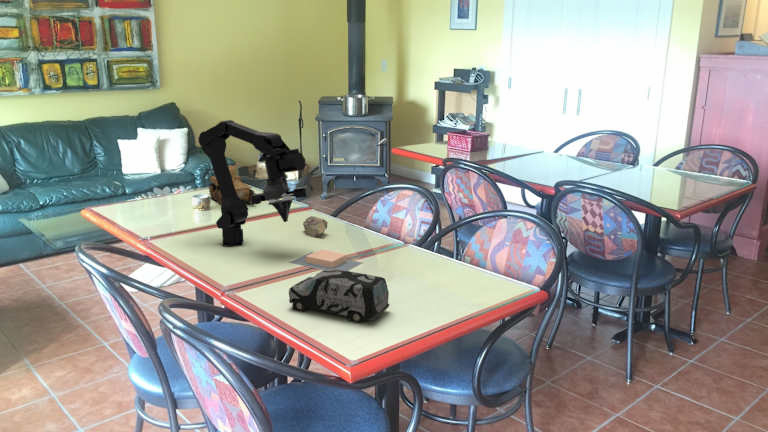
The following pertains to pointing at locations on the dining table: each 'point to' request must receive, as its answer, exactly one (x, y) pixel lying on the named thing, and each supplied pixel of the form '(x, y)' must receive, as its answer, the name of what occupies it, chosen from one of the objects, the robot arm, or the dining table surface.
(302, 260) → the mat
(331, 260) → the block
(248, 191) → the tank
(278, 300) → the dining table surface
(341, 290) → the toy car
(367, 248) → the dining table surface
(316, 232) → the rock
